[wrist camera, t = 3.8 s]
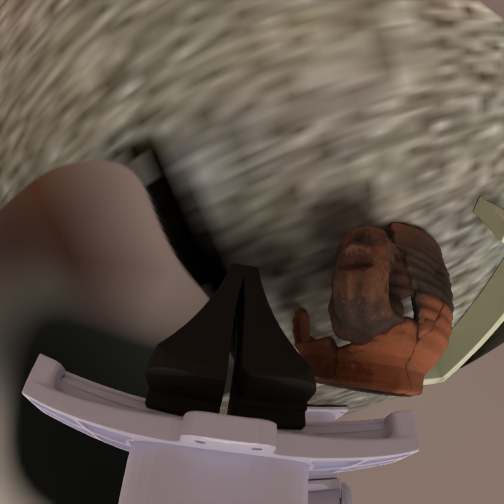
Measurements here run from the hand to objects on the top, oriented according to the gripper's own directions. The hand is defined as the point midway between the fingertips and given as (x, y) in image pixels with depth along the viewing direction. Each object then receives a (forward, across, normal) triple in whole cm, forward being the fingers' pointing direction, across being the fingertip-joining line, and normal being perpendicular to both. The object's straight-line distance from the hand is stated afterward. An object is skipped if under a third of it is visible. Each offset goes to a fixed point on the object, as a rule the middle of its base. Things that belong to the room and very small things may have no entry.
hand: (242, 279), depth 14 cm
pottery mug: (+1, -7, -1) cm, 7 cm away
